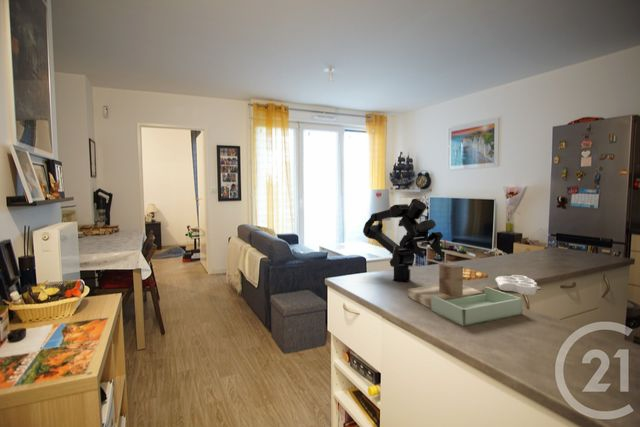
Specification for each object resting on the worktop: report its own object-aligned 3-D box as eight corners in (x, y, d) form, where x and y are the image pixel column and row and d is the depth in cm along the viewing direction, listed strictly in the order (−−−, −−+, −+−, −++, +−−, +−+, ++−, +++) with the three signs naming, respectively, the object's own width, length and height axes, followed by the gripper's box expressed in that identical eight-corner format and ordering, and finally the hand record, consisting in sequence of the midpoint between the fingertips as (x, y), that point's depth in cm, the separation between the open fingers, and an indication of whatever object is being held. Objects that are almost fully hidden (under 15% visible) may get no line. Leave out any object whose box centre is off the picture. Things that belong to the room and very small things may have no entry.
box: (431, 310, 109) (431, 295, 109) (485, 300, 118) (486, 286, 117) (463, 326, 96) (463, 309, 96) (522, 313, 105) (522, 298, 104)
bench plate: (407, 296, 123) (407, 288, 123) (454, 289, 131) (454, 281, 130) (433, 309, 110) (433, 300, 110) (483, 300, 118) (483, 292, 117)
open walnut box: (439, 291, 119) (439, 264, 118) (450, 289, 121) (450, 262, 120) (451, 296, 114) (451, 267, 113) (462, 294, 115) (462, 266, 115)
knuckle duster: (494, 281, 143) (533, 283, 137) (500, 293, 126) (545, 297, 120) (494, 273, 142) (534, 275, 137) (500, 285, 126) (545, 288, 120)
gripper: (402, 214, 128) (423, 245, 118) (438, 212, 136) (461, 240, 126) (391, 233, 135) (410, 263, 126) (426, 230, 143) (446, 258, 133)
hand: (432, 256), depth 127 cm, fingers open, 9 cm apart
